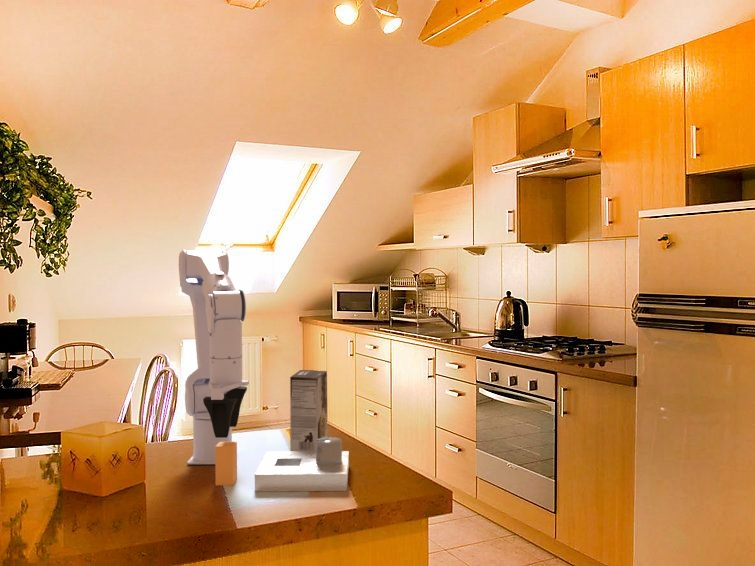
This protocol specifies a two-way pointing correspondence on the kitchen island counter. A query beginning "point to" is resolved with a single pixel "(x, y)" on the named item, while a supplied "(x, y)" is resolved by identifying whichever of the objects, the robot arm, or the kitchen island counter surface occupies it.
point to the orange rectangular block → (226, 463)
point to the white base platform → (305, 469)
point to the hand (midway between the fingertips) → (226, 431)
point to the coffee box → (307, 409)
